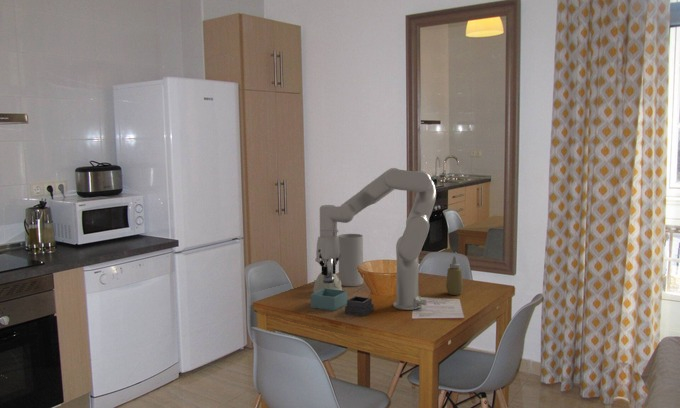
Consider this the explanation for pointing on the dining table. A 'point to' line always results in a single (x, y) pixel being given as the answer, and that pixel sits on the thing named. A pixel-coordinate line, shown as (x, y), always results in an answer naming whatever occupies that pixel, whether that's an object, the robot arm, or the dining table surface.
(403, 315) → the dining table surface
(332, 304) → the bin
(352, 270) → the cylinder vase
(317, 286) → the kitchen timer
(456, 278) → the squeeze bottle
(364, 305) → the square recessed block
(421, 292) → the dining table surface
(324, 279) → the pepper mill
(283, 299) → the dining table surface
